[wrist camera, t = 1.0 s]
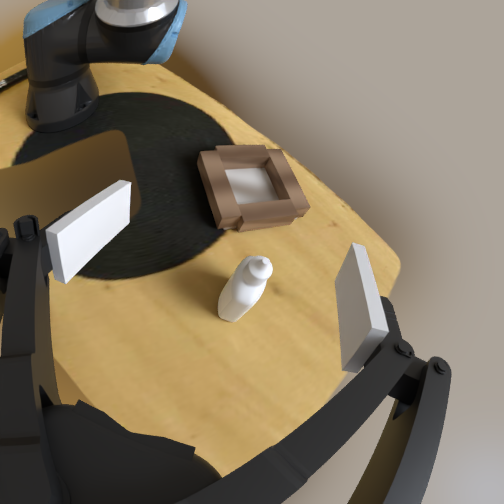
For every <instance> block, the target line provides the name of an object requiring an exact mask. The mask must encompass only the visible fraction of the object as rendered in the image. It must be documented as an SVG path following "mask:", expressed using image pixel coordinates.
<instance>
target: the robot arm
mask: <svg viewBox="0 0 504 504" xmlns="http://www.w3.org/2000/svg"><path fill="white" fill-rule="evenodd" d="M186 10H187V2H186V1H184V0H48V1H46V2H44V3H41V4H39V5H38V6H36V7H34V8H33V9H32V10H30V12H28V14H27V15H26V17H25V19H24V31H23V39H24V47H25V57H26V66H27V73H28V79H29V90H28V96H27V103H26V118H27V122H28V125H29V126H30V127H31V128H32V129H33V130H35V131H38V132H45V133H49V132H57V131H62V130H65V129H68V128H71V127H73V126H75V125H77V124H79V123H81V122H83V121H84V120H86V119H87V118H88V117H89V116H90V115H92V114H93V112H94V111H95V110H96V108H97V106H98V104H99V90H98V87H97V84H96V82H95V80H94V77H93V75H92V72H91V70H90V66H89V63H126V64H141V65H146V64H161V63H164V62H165V61H167V60H168V59H169V57H170V55H171V53H172V51H173V48H174V45H175V43H176V40H177V37H178V34H179V31H180V29H181V26H182V23H183V20H184V17H185V14H186ZM130 188H131V182H127V181H123V180H119V181H118V182H116V183H115V184H113V185H111V186H110V187H108V188H106V189H105V190H103V191H101V192H100V193H98V194H97V195H95V196H94V197H92V198H91V199H89V200H88V201H86V202H85V203H83V204H82V205H80V206H79V207H77V208H76V209H74V210H70V211H68V212H65V213H64V214H62V215H61V216H59V218H56V219H55V220H54V221H52V222H51V223H50V224H48V225H47V226H45V227H44V228H43V229H41V230H39V224H38V218H37V217H36V216H34V215H26V216H22V217H20V218H18V219H17V220H16V221H15V222H14V229H15V234H16V238H9V236H8V231H7V229H5V228H0V322H1V319H2V316H3V327H2V344H1V345H2V346H1V357H0V504H281V503H282V502H283V501H285V500H286V499H287V498H289V497H290V496H291V495H292V494H294V493H295V492H296V491H297V490H298V489H299V488H301V487H302V486H303V485H304V484H305V483H306V482H307V480H308V478H309V477H310V476H311V475H313V474H314V473H315V472H316V471H317V470H318V469H319V468H320V467H321V466H322V465H323V464H324V463H325V462H327V461H328V459H330V458H331V457H332V456H333V455H334V454H335V453H336V452H337V451H338V450H339V449H340V448H341V447H342V446H343V445H344V444H345V443H346V442H347V441H348V440H349V438H350V437H351V436H352V435H353V434H354V433H355V432H356V431H357V430H358V429H359V428H360V427H361V425H362V424H363V423H364V422H365V421H366V420H367V419H368V417H369V416H370V415H371V414H372V413H373V412H374V410H375V409H376V408H377V407H378V406H379V404H380V403H381V402H382V401H383V399H384V398H385V397H386V396H387V395H389V396H391V397H393V398H395V401H394V404H393V407H392V410H391V412H390V415H389V418H388V421H387V423H386V425H385V428H384V430H383V433H382V435H381V437H380V440H379V442H378V444H377V446H376V449H375V451H374V453H373V455H372V457H371V459H370V462H369V464H368V466H367V468H366V470H365V472H364V474H363V476H362V478H361V480H360V482H359V484H358V485H357V487H356V489H355V491H354V493H353V494H352V497H351V498H350V500H349V502H348V503H347V504H421V502H422V499H423V496H424V493H425V491H426V488H427V485H428V482H429V479H430V475H431V472H432V469H433V465H434V462H435V458H436V455H437V451H438V446H439V442H440V438H441V434H442V429H443V425H444V420H445V414H446V409H447V403H448V397H449V390H450V383H451V369H450V367H449V365H448V364H447V362H446V361H445V360H443V359H442V358H440V357H432V358H431V359H430V360H429V361H428V362H425V361H423V360H421V359H419V358H417V357H415V354H414V350H413V348H412V347H411V345H410V344H409V343H408V342H406V341H405V340H403V339H402V336H401V332H400V329H399V325H398V322H397V320H396V315H395V312H394V309H393V305H392V304H391V302H390V301H389V300H388V298H386V297H383V296H380V295H379V292H378V288H377V285H376V281H375V278H374V275H373V271H372V268H371V265H370V262H369V259H368V255H367V252H366V249H365V246H362V245H359V244H356V243H353V242H352V244H351V246H350V249H349V251H348V253H347V255H346V258H345V260H344V262H343V264H342V266H341V269H340V271H339V273H338V275H337V277H336V279H335V288H336V298H337V308H338V320H339V332H340V346H341V362H342V371H348V372H354V373H358V372H359V371H360V369H361V368H362V367H363V366H364V369H363V370H362V371H361V372H360V373H359V374H358V375H357V376H356V377H355V378H354V379H353V380H351V381H350V382H349V383H348V384H347V385H346V386H345V387H344V388H343V389H342V390H341V391H340V392H339V393H338V394H337V395H335V396H334V397H333V398H332V399H331V400H330V401H329V402H328V403H327V404H325V405H324V406H323V407H322V408H321V409H320V410H318V411H317V412H316V413H315V414H314V415H313V416H311V417H310V418H309V419H308V420H307V421H305V422H304V423H303V424H302V425H300V426H299V427H298V428H297V429H295V430H294V431H293V432H292V433H290V434H289V435H288V436H286V437H285V438H284V439H282V440H281V441H280V442H278V443H277V444H276V445H274V446H271V447H269V448H268V449H266V450H265V451H263V452H262V453H260V454H259V455H257V456H256V457H254V458H253V459H251V460H250V461H248V462H247V463H245V464H244V465H242V466H241V467H239V468H238V469H236V470H235V471H233V472H231V473H230V474H228V475H226V476H225V477H223V478H222V477H221V476H220V474H219V473H218V472H217V471H216V470H215V468H214V467H213V466H211V465H210V464H209V463H208V462H207V461H205V460H204V459H203V458H201V457H200V456H198V455H196V454H194V452H195V448H196V447H193V446H189V445H186V444H183V443H180V442H177V441H174V440H171V439H168V438H165V437H159V436H151V435H144V434H138V433H132V432H130V431H128V430H126V429H125V428H124V427H122V426H121V425H120V424H118V423H117V422H116V421H115V420H113V419H112V418H111V417H109V416H108V415H107V414H106V413H104V412H103V411H101V410H98V409H96V408H94V407H92V406H90V405H89V404H87V403H85V402H83V401H81V400H78V402H77V404H76V405H75V406H74V405H69V404H62V403H61V400H60V398H59V394H58V389H57V382H56V376H55V369H54V361H53V352H52V341H51V327H50V305H49V276H48V273H49V272H50V271H51V270H52V269H53V274H54V278H55V280H58V281H60V282H62V283H64V284H66V283H67V282H68V281H69V280H70V279H71V278H72V277H73V276H74V275H75V274H76V273H77V272H78V271H79V270H80V269H81V268H82V267H83V266H84V265H85V264H86V263H87V262H88V261H89V260H90V259H91V258H92V257H93V256H94V255H95V254H96V253H97V252H98V251H99V250H101V249H102V248H103V247H104V246H105V245H106V244H107V243H108V242H109V241H110V240H111V239H112V238H113V237H114V236H115V235H117V234H118V233H119V232H120V231H121V230H122V229H123V228H124V227H125V226H127V225H128V224H129V217H130V216H129V215H130V213H129V212H130ZM3 314H4V315H3Z"/></svg>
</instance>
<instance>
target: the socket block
mask: <svg viewBox="0 0 504 504" xmlns="http://www.w3.org/2000/svg"><path fill="white" fill-rule="evenodd" d="M197 166H198V169H199V172H200V175H201V179H202V182H203V185H204V188H205V191H206V194H207V198H208V201H209V204H210V207H211V210H212V213H213V216H214V219H215V223H216V226H217V229H220V228H223V229H224V230H225V229H232V228H237V230H238V232H244V231H250V230H257V229H263V228H270V227H276V226H283V225H290V224H291V223H292V222H293V220H294V219H297V218H298V217H303V216H304V214H305V213H306V212H307V211H308V210H309V208H310V205H309V203H308V201H307V199H306V197H305V195H304V193H303V191H302V189H301V187H300V185H299V183H298V181H297V179H296V177H295V175H294V173H293V171H292V169H291V167H290V166H289V164H288V162H287V160H286V158H285V156H284V154H283V152H282V150H281V149H266V147H265V145H228V146H216V147H215V150H214V151H200V153H199V157H198V161H197Z"/></svg>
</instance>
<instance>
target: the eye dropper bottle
mask: <svg viewBox="0 0 504 504" xmlns="http://www.w3.org/2000/svg"><path fill="white" fill-rule="evenodd" d="M272 271H273V268H272V264H271V262H270V260H269V259H268V258H266V257H263V256H255V257H254V256H248V257H246V258H245V259H244V260H243V261H242V262H241V263H240V264H239V265H238V267H237V268H236V270H235V271H234V273H233V274H232V276H231V277H230V279H229V280H228V282H227V283H226V285H225V286H224V288H223V290H222V292H221V294H220V297H219V301H218V315H219V317H220V318H222V319H224V320H227V321H230V322H236V321H237V320H238V319H239V318H240V317H241V316H243V315H244V314H245V313H246V312H247V311H248V310H249V309H250V308H251V307H252V306H253V305H254V304H255V303H256V302H257V301H258V299H259V298H260V296H261V295H262V293H263V291H264V288H265V285H266V281H267V279H268V278H269V277H270V276H271V274H272Z"/></svg>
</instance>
